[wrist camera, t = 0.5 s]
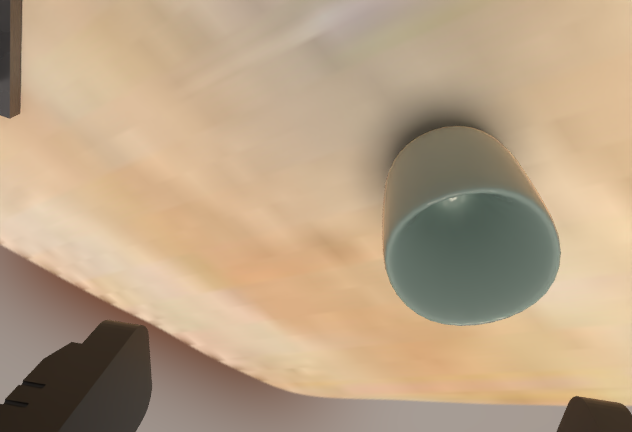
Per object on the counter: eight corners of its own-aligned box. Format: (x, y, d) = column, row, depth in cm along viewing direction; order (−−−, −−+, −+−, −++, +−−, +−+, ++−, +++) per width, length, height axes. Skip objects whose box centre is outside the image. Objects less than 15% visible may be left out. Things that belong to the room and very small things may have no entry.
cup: (406, 235, 33) (414, 342, 24) (364, 136, 30) (358, 220, 21) (523, 200, 31) (578, 305, 22) (492, 88, 27) (543, 161, 19)
